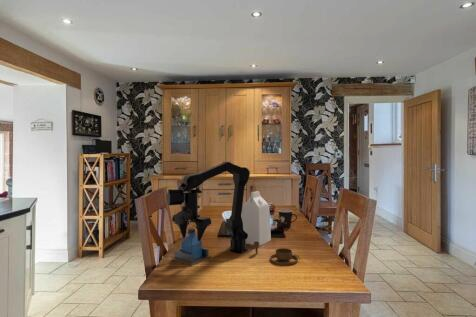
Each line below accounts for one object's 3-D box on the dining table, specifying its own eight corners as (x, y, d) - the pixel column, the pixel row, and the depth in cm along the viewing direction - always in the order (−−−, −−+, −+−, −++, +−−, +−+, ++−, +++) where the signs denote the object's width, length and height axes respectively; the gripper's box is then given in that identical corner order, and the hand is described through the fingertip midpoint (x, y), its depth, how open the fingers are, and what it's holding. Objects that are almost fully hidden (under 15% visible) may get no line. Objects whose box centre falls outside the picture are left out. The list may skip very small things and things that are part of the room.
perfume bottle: (191, 259, 130) (191, 231, 130) (181, 257, 134) (181, 229, 134) (201, 256, 135) (201, 228, 135) (191, 253, 139) (191, 226, 139)
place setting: (271, 269, 123) (271, 254, 123) (251, 254, 142) (251, 241, 142) (308, 263, 129) (308, 249, 129) (284, 250, 148) (284, 237, 148)
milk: (252, 237, 170) (252, 190, 169) (270, 240, 163) (270, 191, 163) (240, 242, 160) (239, 192, 159) (259, 245, 153) (259, 193, 153)
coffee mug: (275, 226, 195) (275, 210, 195) (287, 224, 199) (287, 209, 199) (286, 230, 185) (286, 213, 184) (298, 228, 188) (298, 212, 188)
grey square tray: (211, 257, 136) (211, 248, 136) (191, 265, 126) (191, 256, 126) (191, 252, 143) (191, 244, 143) (171, 260, 133) (171, 250, 133)
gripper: (162, 204, 133) (162, 240, 134) (193, 208, 122) (193, 247, 123) (181, 201, 142) (181, 234, 143) (211, 204, 131) (212, 241, 132)
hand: (191, 239), depth 135 cm, fingers open, 9 cm apart
